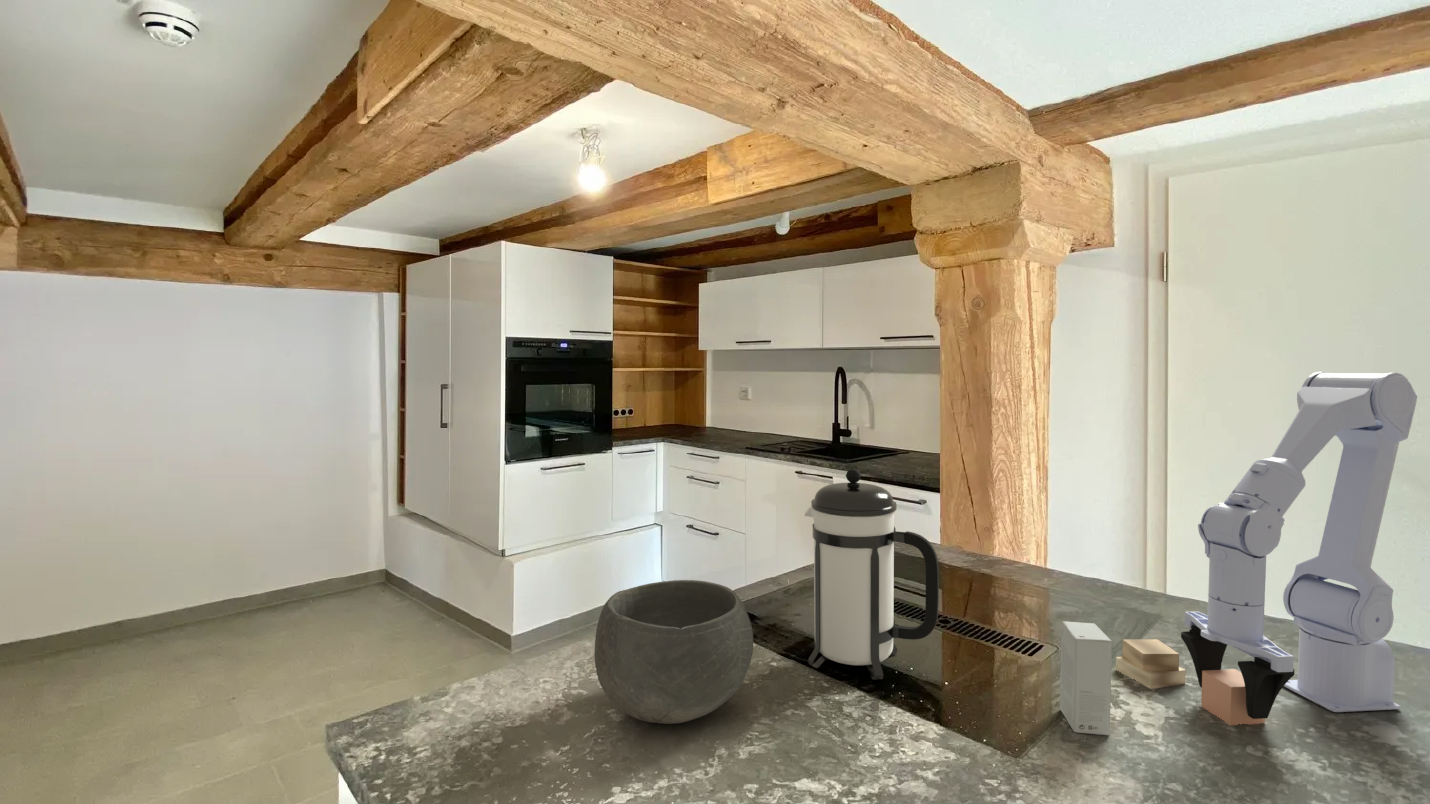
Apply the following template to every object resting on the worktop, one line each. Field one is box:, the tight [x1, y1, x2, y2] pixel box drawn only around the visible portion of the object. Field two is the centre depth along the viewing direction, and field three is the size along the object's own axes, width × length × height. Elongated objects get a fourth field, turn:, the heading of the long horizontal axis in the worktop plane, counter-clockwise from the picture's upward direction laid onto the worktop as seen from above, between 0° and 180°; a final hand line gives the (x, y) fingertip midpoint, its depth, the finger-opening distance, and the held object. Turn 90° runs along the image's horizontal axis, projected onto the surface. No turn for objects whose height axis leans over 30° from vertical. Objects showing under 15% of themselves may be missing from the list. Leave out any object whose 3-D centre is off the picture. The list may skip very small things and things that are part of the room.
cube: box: [1200, 668, 1266, 726], centre depth 87 cm, size 5×5×5 cm
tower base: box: [1115, 655, 1186, 690], centre depth 98 cm, size 6×6×2 cm
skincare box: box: [1059, 620, 1113, 736], centre depth 85 cm, size 6×4×12 cm
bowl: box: [594, 579, 754, 725], centre depth 90 cm, size 21×21×15 cm
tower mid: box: [1122, 638, 1180, 671], centre depth 97 cm, size 5×5×2 cm
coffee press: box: [804, 468, 940, 681], centre depth 103 cm, size 17×16×30 cm
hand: (1232, 701), depth 87 cm, fingers open, 7 cm apart
